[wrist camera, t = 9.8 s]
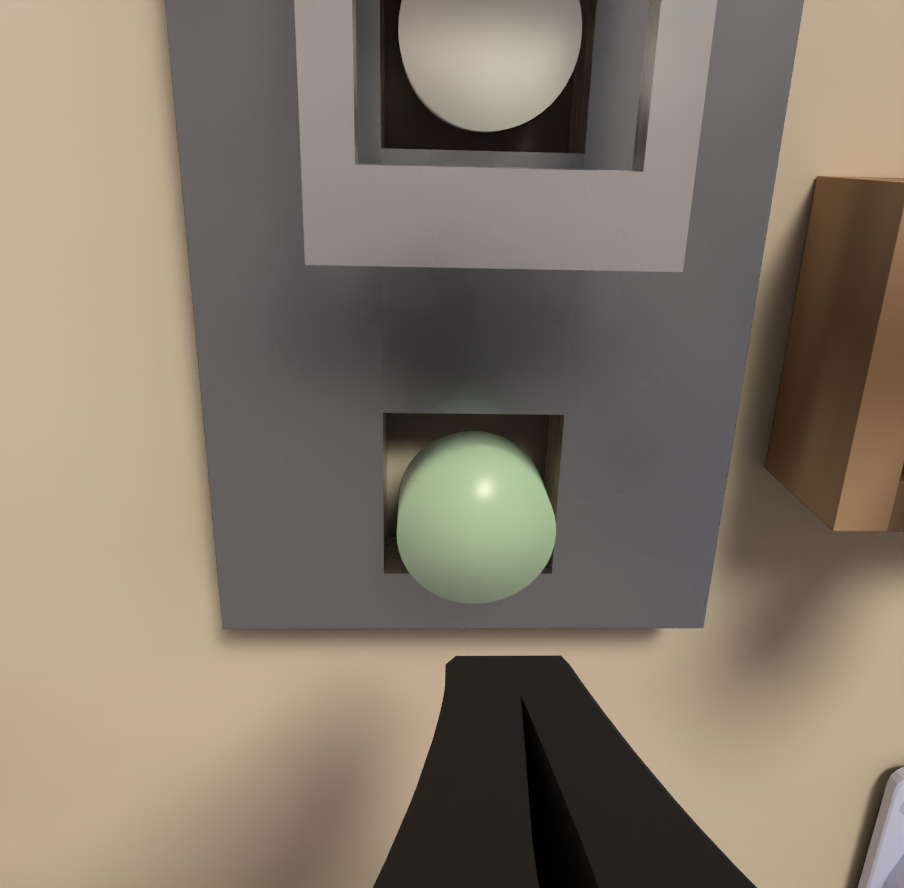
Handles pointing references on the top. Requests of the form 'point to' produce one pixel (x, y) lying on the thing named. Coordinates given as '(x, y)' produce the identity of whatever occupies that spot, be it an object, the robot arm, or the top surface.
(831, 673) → the top surface
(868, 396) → the holder
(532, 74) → the button reset
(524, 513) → the button on
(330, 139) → the panel
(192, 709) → the top surface
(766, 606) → the top surface
